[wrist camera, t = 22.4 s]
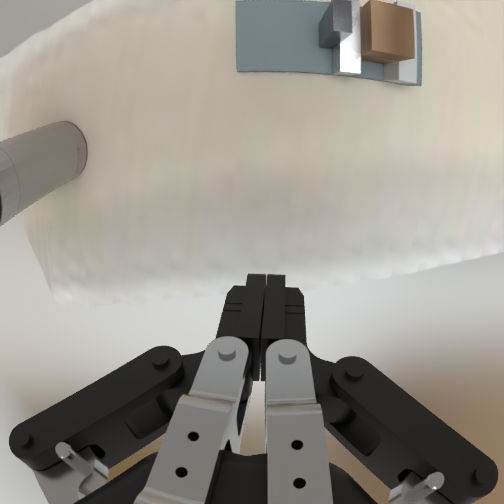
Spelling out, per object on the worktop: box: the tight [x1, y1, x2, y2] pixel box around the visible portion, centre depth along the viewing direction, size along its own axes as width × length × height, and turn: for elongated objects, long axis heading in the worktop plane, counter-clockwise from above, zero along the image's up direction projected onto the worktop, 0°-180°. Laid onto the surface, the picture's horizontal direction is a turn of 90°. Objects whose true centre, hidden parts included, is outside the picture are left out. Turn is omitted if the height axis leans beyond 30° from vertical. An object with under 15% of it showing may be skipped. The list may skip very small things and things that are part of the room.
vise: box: [236, 0, 422, 86], centre depth 25 cm, size 20×9×6 cm, turn 91°
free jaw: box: [319, 0, 361, 76], centre depth 22 cm, size 4×9×10 cm, turn 1°
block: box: [360, 0, 415, 64], centre depth 22 cm, size 4×5×9 cm
